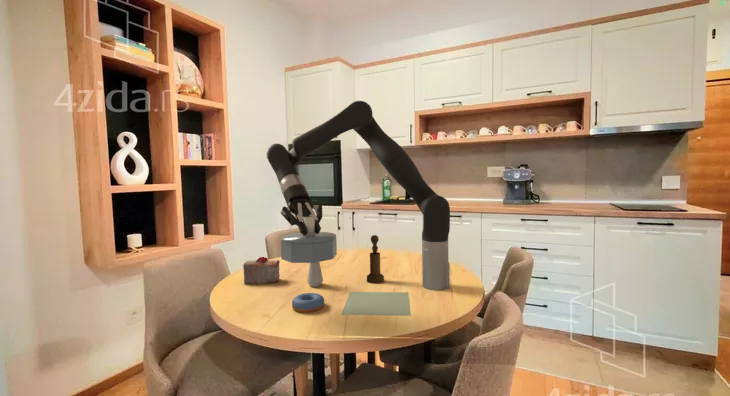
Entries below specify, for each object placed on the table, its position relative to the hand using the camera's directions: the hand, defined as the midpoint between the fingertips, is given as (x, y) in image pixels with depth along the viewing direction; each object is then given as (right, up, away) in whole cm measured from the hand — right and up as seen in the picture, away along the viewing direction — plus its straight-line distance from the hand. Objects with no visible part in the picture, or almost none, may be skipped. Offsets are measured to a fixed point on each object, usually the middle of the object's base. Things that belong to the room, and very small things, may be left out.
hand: (312, 232), depth 103 cm
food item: (-24, -23, +32) cm, 46 cm away
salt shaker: (-3, -23, +25) cm, 34 cm away
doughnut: (-2, -24, +3) cm, 24 cm away
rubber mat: (+20, -23, +6) cm, 31 cm away
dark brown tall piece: (+20, -22, +29) cm, 41 cm away
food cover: (-1, -7, +2) cm, 8 cm away
